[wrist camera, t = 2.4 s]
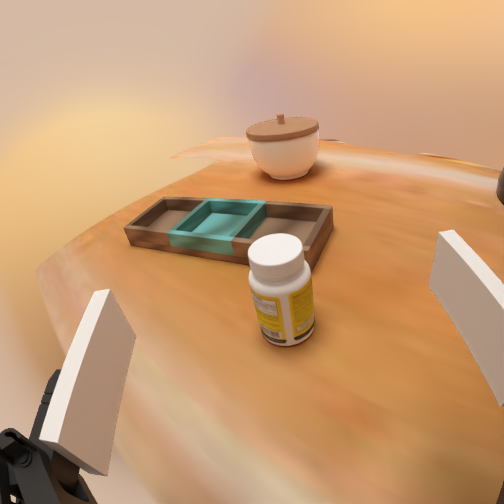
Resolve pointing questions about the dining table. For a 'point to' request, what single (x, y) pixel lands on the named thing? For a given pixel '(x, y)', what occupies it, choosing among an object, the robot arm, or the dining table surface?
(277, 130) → the lidded bowl
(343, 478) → the dining table surface
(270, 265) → the supplement bottle
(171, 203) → the tray
